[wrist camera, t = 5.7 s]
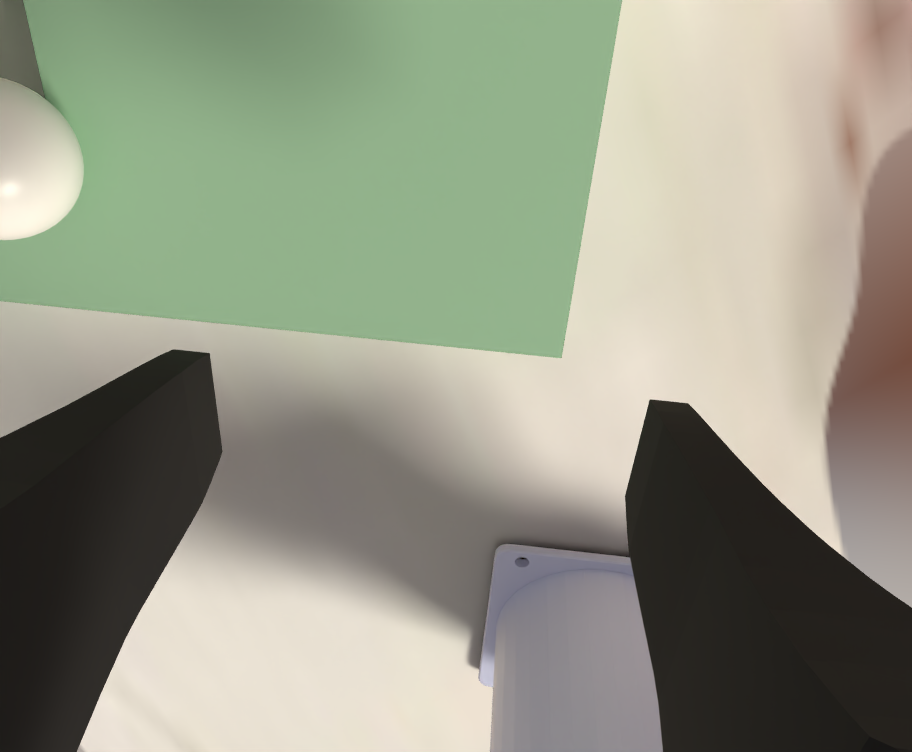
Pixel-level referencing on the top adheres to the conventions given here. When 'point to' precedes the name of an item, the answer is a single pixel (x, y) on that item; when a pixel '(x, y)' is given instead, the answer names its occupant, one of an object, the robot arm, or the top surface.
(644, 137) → the top surface
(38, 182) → the ball
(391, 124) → the green holed board
